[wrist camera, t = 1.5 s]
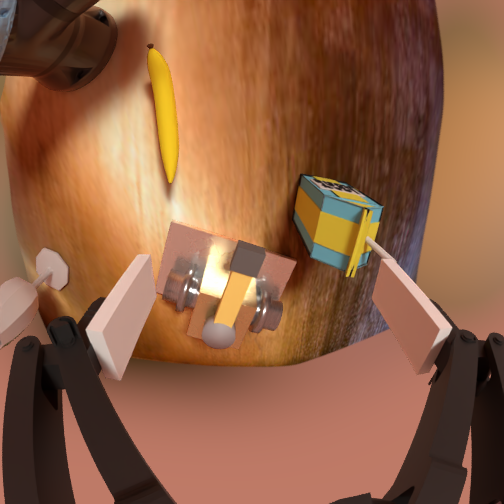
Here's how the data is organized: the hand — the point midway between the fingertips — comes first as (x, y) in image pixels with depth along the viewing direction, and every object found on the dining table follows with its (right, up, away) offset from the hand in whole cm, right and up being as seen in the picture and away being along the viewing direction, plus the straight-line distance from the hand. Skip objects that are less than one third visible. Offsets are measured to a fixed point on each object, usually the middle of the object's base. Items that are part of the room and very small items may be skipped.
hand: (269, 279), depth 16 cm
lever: (-4, -4, +20) cm, 21 cm away
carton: (+9, +9, +26) cm, 29 cm away
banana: (-12, +21, +20) cm, 32 cm away
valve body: (-6, -2, +30) cm, 31 cm away
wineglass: (-39, -2, +30) cm, 49 cm away
